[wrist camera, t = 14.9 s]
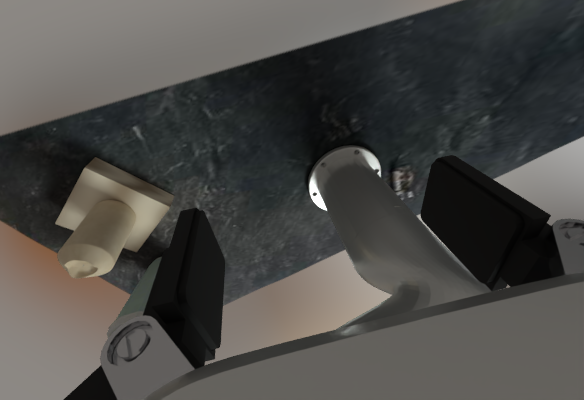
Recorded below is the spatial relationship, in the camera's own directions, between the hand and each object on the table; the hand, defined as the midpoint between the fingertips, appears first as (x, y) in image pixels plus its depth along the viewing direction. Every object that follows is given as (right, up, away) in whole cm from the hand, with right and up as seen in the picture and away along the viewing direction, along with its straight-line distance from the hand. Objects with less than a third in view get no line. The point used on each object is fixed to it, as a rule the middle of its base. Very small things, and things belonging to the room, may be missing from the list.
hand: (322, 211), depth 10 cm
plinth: (-27, 0, +28) cm, 39 cm away
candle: (-27, -2, +26) cm, 37 cm away
